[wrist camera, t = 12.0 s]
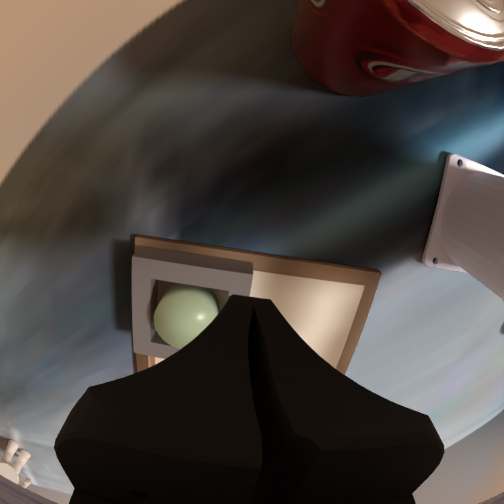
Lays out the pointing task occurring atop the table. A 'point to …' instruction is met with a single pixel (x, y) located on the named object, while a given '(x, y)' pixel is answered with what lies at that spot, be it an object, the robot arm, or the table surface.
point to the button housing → (179, 271)
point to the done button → (184, 313)
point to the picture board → (294, 296)
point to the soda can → (394, 41)
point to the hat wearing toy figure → (14, 464)
